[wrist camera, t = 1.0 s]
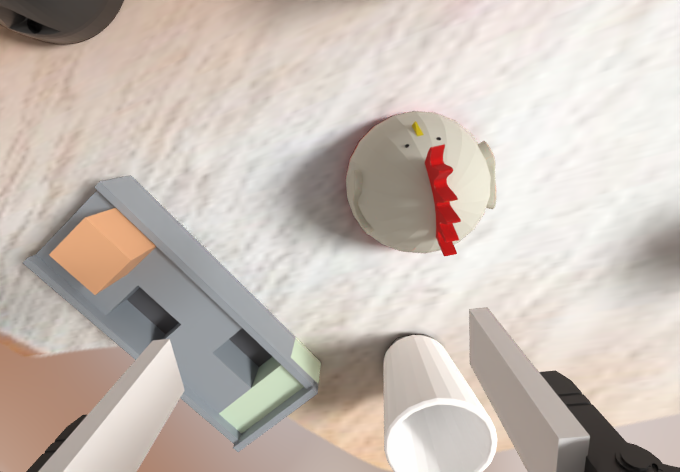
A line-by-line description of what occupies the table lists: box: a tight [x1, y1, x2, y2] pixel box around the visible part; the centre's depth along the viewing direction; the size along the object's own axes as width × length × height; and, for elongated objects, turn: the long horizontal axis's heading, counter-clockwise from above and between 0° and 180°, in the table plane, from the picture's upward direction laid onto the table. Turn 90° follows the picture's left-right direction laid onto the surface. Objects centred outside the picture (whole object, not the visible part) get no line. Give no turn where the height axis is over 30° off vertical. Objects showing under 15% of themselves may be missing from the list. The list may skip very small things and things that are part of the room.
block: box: [49, 208, 157, 295], centre depth 33 cm, size 5×5×5 cm
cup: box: [383, 335, 497, 472], centre depth 37 cm, size 10×10×13 cm
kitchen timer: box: [346, 111, 496, 256], centre depth 31 cm, size 14×14×15 cm
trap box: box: [23, 176, 321, 452], centre depth 39 cm, size 30×12×6 cm, turn 41°
